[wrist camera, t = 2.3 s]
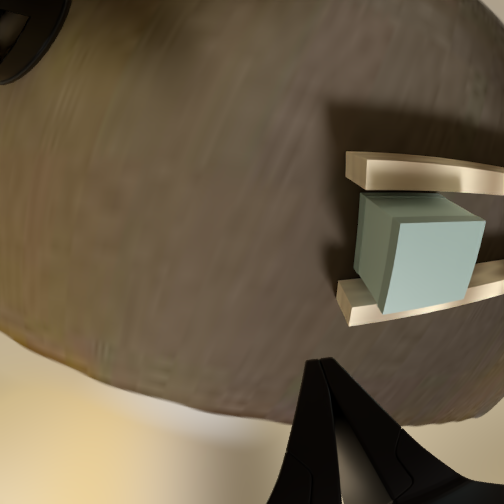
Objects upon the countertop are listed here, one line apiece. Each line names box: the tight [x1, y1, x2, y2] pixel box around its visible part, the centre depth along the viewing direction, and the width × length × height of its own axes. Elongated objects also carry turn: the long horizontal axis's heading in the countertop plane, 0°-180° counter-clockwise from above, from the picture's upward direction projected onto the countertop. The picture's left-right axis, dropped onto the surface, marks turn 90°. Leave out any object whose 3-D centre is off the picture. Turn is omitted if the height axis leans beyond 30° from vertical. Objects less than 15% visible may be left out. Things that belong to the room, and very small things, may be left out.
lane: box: [336, 151, 504, 326], centre depth 16 cm, size 20×10×3 cm, turn 93°
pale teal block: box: [353, 192, 486, 315], centre depth 15 cm, size 6×5×5 cm
